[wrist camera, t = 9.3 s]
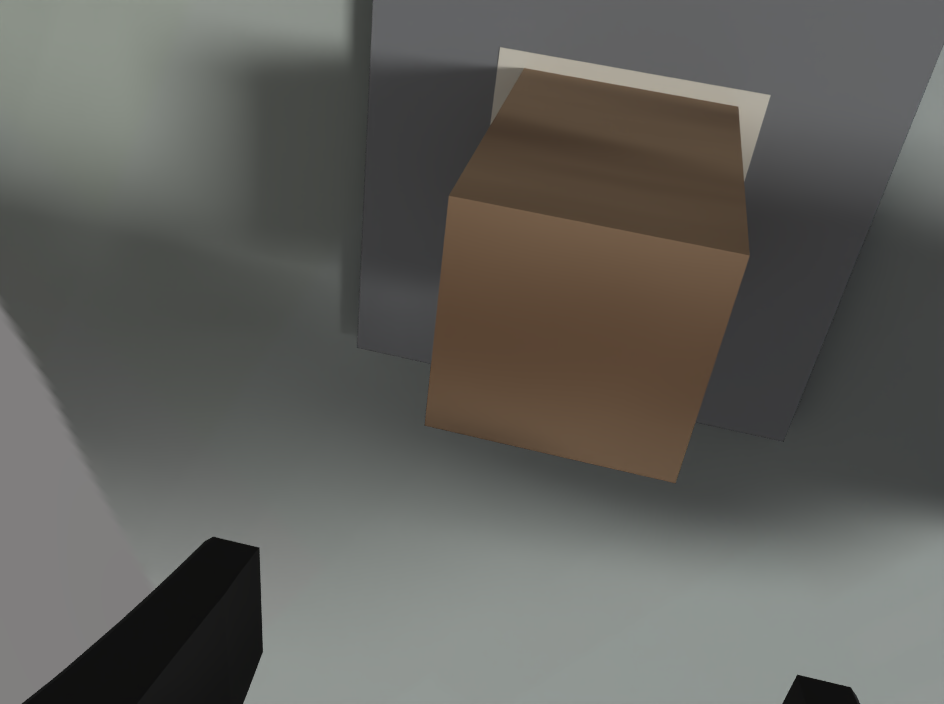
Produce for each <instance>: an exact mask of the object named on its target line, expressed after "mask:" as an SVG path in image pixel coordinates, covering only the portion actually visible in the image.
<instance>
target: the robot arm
mask: <svg viewBox="0 0 944 704" xmlns="http://www.w3.org/2000/svg"><path fill="white" fill-rule="evenodd" d="M262 653H263V642H262V613H261V583H260V554H259V548H258V547H254V546H250V545H246V544H241V543H237V542H233V541H229V540H225V539H220V538H216V537H212V538H210V539H208V540H206V541H205V542H204V543H203V544H202V545H201V546H200V547H199V548H198V549H196V550H195V551H194V552H193V553H192V554H191V555H190V556H189V557H188V558H187V559H186V560H185V561H184V562H183V563H182V564H181V565H180V566H179V567H178V568H177V569H176V570H175V571H174V572H173V573H172V574H171V575H170V576H168V577H167V578H166V579H165V580H164V581H163V582H162V583H161V584H160V585H159V586H158V587H157V588H156V589H155V590H154V591H152V592H151V594H149V595H148V596H147V597H146V598H145V599H144V600H143V601H142V602H141V603H139V604H138V605H137V606H136V607H135V608H134V609H133V610H132V611H131V612H130V613H128V614H127V615H126V616H125V617H124V618H123V619H122V620H121V621H120V622H119V623H117V624H116V625H115V626H114V627H113V628H112V629H111V630H109V631H108V632H107V633H106V634H105V635H104V636H102V637H101V638H100V639H99V640H98V641H97V642H96V643H94V644H93V645H92V646H91V647H90V648H89V649H87V650H86V651H85V652H84V653H83V654H82V655H81V656H79V657H78V658H77V659H76V660H75V661H74V662H72V663H71V664H70V665H69V666H68V667H67V668H65V669H64V670H63V671H62V672H61V673H59V674H58V675H57V676H56V677H55V678H53V680H51V681H50V682H49V683H47V684H46V685H45V686H43V687H42V688H41V689H40V690H38V691H37V692H36V693H35V694H33V695H32V696H31V697H30V698H29V699H27V700H26V701H25V702H23V703H22V704H243V702H244V700H245V697H246V695H247V692H248V690H249V687H250V684H251V682H252V679H253V676H254V674H255V671H256V668H257V666H258V663H259V661H260V658H261V655H262ZM783 704H860V703H859V700H858V698H857V696H856V695H855V693H854V692H853V690H852V689H851V687H847V686H843V685H839V684H834V683H830V682H826V681H822V680H817V679H813V678H809V677H805V676H800V675H797V676H796V678H795V680H794V682H793V684H792V686H791V688H790V690H789V692H788V694H787V696H786V698H785V700H784V702H783Z"/></svg>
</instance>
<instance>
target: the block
mask: <svg viewBox="0 0 944 704" xmlns="http://www.w3.org/2000/svg"><path fill="white" fill-rule="evenodd" d="M749 256H750V252H749V239H748V226H747V213H746V200H745V187H744V174H743V161H742V148H741V134H740V121H739V108H738V106H732V105H727V104H721V103H716V102H710V101H705V100H699V99H694V98H688V97H683V96H677V95H671V94H666V93H660V92H655V91H649V90H644V89H638V88H633V87H627V86H622V85H616V84H611V83H605V82H599V81H594V80H588V79H583V78H577V77H572V76H566V75H561V74H555V73H550V72H544V71H539V70H533V69H527V68H524V69H523V71H522V73H521V74H520V76H519V78H518V79H517V81H516V83H515V84H514V86H513V88H512V89H511V91H510V93H509V95H508V96H507V98H506V100H505V101H504V103H503V105H502V106H501V108H500V110H499V112H498V113H497V115H496V117H495V118H494V120H493V122H492V123H491V125H490V127H489V128H488V130H487V132H486V134H485V135H484V137H483V139H482V140H481V142H480V144H479V145H478V147H477V149H476V150H475V152H474V154H473V156H472V157H471V159H470V161H469V162H468V164H467V166H466V167H465V169H464V171H463V173H462V174H461V176H460V178H459V179H458V181H457V183H456V184H455V186H454V188H453V189H452V191H451V193H450V195H449V199H448V208H447V218H446V227H445V237H444V246H443V256H442V265H441V275H440V284H439V294H438V303H437V313H436V322H435V332H434V341H433V351H432V360H431V370H430V379H429V389H428V398H427V408H426V417H425V426H429V427H433V428H438V429H442V430H446V431H451V432H455V433H459V434H464V435H468V436H472V437H477V438H481V439H485V440H490V441H494V442H498V443H503V444H507V445H511V446H516V447H520V448H524V449H529V450H533V451H538V452H542V453H546V454H551V455H555V456H559V457H564V458H568V459H572V460H577V461H581V462H585V463H590V464H594V465H598V466H603V467H607V468H611V469H616V470H620V471H624V472H629V473H633V474H637V475H642V476H646V477H651V478H655V479H659V480H664V481H668V482H672V483H676V480H677V477H678V474H679V471H680V468H681V465H682V462H683V459H684V456H685V453H686V450H687V447H688V443H689V440H690V437H691V434H692V431H693V428H694V425H695V422H696V419H697V416H698V413H699V410H700V407H701V404H702V401H703V397H704V394H705V391H706V388H707V385H708V382H709V379H710V376H711V373H712V370H713V367H714V364H715V361H716V358H717V354H718V351H719V348H720V345H721V342H722V339H723V336H724V333H725V330H726V327H727V324H728V321H729V318H730V315H731V312H732V308H733V305H734V302H735V299H736V296H737V293H738V290H739V287H740V284H741V281H742V278H743V275H744V272H745V269H746V266H747V262H748V259H749Z"/></svg>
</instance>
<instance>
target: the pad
mask: <svg viewBox="0 0 944 704" xmlns="http://www.w3.org/2000/svg"><path fill="white" fill-rule="evenodd" d="M943 45H944V0H373V11H372V33H371V55H370V76H369V98H368V120H367V142H366V164H365V185H364V207H363V229H362V251H361V273H360V294H359V316H358V338H357V348H361V349H366V350H371V351H375V352H380V353H384V354H389V355H393V356H398V357H402V358H407V359H411V360H416V361H420V362H425V363H429V364H431V360H432V351H433V341H434V332H435V322H436V313H437V303H438V294H439V284H440V275H441V265H442V256H443V246H444V237H445V227H446V218H447V208H448V199H449V195H450V193H451V191H452V189H453V188H454V186H455V184H456V183H457V181H458V179H459V178H460V176H461V174H462V173H463V171H464V169H465V167H466V166H467V164H468V162H469V161H470V159H471V157H472V156H473V154H474V152H475V150H476V149H477V147H478V145H479V144H480V142H481V140H482V139H483V137H484V135H485V134H486V132H487V130H488V128H489V127H490V125H491V123H492V122H493V120H494V118H495V117H496V115H497V113H498V112H499V110H500V108H501V106H502V105H503V103H504V101H505V100H506V98H507V96H508V95H509V93H510V91H511V89H512V88H513V86H514V84H515V83H516V81H517V79H518V78H519V76H520V74H521V73H522V71H523V69H524V68H527V69H533V70H539V71H544V72H550V73H555V74H561V75H566V76H572V77H577V78H583V79H588V80H594V81H599V82H605V83H611V84H616V85H622V86H627V87H633V88H638V89H644V90H649V91H655V92H660V93H666V94H671V95H677V96H683V97H688V98H694V99H699V100H705V101H710V102H716V103H721V104H727V105H732V106H738V108H739V121H740V134H741V148H742V161H743V174H744V187H745V200H746V213H747V226H748V239H749V252H750V256H749V259H748V262H747V266H746V269H745V272H744V275H743V278H742V281H741V284H740V287H739V290H738V293H737V296H736V299H735V302H734V305H733V308H732V312H731V315H730V318H729V321H728V324H727V327H726V330H725V333H724V336H723V339H722V342H721V345H720V348H719V351H718V354H717V358H716V361H715V364H714V367H713V370H712V373H711V376H710V379H709V382H708V385H707V388H706V391H705V394H704V397H703V401H702V404H701V407H700V410H699V413H698V416H697V419H696V422H697V423H701V424H706V425H710V426H715V427H719V428H724V429H728V430H733V431H737V432H742V433H746V434H751V435H756V436H760V437H765V438H769V439H774V440H778V441H783V442H784V440H785V437H786V435H787V432H788V430H789V427H790V425H791V422H792V420H793V417H794V415H795V412H796V410H797V407H798V405H799V402H800V400H801V397H802V395H803V392H804V390H805V387H806V385H807V382H808V380H809V377H810V375H811V372H812V370H813V368H814V365H815V363H816V360H817V358H818V355H819V353H820V350H821V348H822V345H823V343H824V340H825V338H826V335H827V333H828V330H829V328H830V325H831V323H832V320H833V318H834V315H835V313H836V310H837V308H838V305H839V303H840V300H841V298H842V295H843V293H844V291H845V288H846V286H847V283H848V281H849V278H850V276H851V273H852V271H853V268H854V266H855V263H856V261H857V258H858V256H859V253H860V251H861V248H862V246H863V243H864V241H865V238H866V236H867V233H868V231H869V228H870V226H871V223H872V221H873V219H874V216H875V214H876V211H877V209H878V206H879V204H880V201H881V199H882V196H883V194H884V191H885V189H886V186H887V184H888V181H889V179H890V176H891V174H892V171H893V169H894V166H895V164H896V161H897V159H898V156H899V154H900V151H901V149H902V147H903V144H904V142H905V139H906V137H907V134H908V132H909V129H910V127H911V124H912V122H913V119H914V117H915V114H916V112H917V109H918V107H919V104H920V102H921V99H922V97H923V94H924V92H925V89H926V87H927V84H928V82H929V79H930V77H931V75H932V72H933V70H934V67H935V65H936V62H937V60H938V57H939V55H940V52H941V50H942V47H943Z"/></svg>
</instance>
